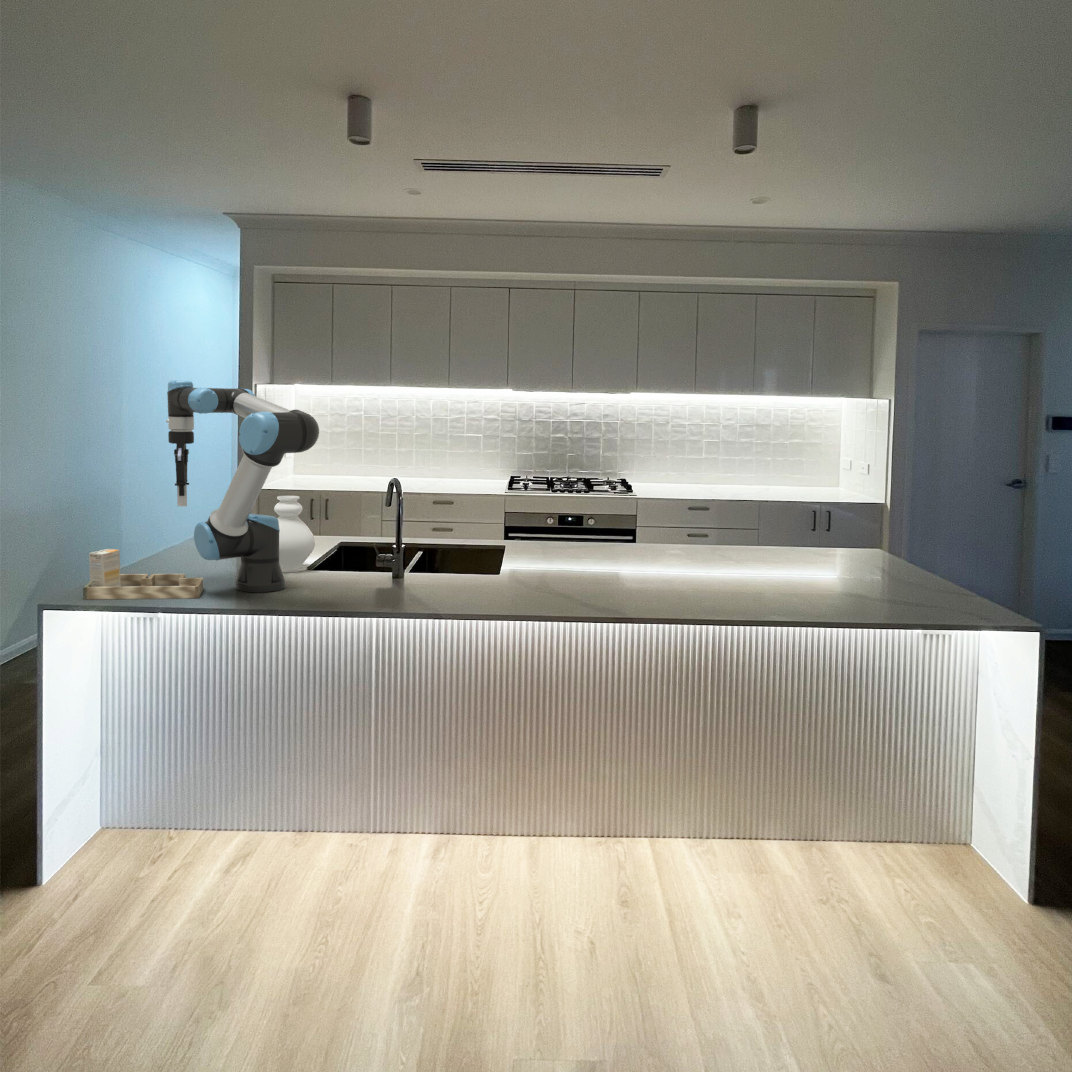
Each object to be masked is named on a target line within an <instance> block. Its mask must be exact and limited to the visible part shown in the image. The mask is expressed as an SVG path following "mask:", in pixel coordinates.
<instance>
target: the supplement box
mask: <svg viewBox="0 0 1072 1072" xmlns="http://www.w3.org/2000/svg"><path fill="white" fill-rule="evenodd" d="M120 551H121V550H120V549H114V548H105V549H100V550H97V551H91V552H89V553H88V561H89V562H88V563H89V582H90V587H121V582H120V574H121V557H120V555H121V554H120Z"/></svg>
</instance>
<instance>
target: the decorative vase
mask: <svg viewBox="0 0 1072 1072" xmlns="http://www.w3.org/2000/svg"><path fill="white" fill-rule="evenodd" d="M276 499H277V500H279V502H277V503H276V504H275V505H274V508H273V510H274V513H276V514H277V515H278V517H276V518H277V519H278V521H279V530H280V532H279V564H280V567H281V570H282V573H300V571H301V572H305V571H307V570H308V566H306V565H303V564H304V563H305V562H306V561H307V559H308V558H309V557H310V556H311V554H312V553H313V551H314V550H315V548H316V547H315V546H316V541H315V540H316V539H315V536H314V533H313V532H312V530H311V529H310V527H308V525H307V524H306V523H305V522H304V521H303V520H302V519H301V518H300V517H299V515H300V514H301V513H302V512H303V509H304V508H303V505H301V503H299V502H298V501H299V500H300V499H301V498H300V496H298V495H278V496H277V497H276Z"/></svg>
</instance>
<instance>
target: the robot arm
mask: <svg viewBox="0 0 1072 1072" xmlns="http://www.w3.org/2000/svg"><path fill="white" fill-rule="evenodd" d="M166 394H167V395H166V396H167V413H168V415H167V417H168V418H167V419H166V421H165V422H166V423H168V426H167V427H168V430H170V431H168V432H167V433H168V443H169V444H176V448H175V449H173V455H174V461H175V473H176V475H175V477H176V482H175V483H174V486H176V487H177V488H176V490H177V492H176V493H177V494H176V495H177V496H176V497H177V503H176V504H177V507H188V490H187V489H188V488H187V487H188V486H189V485H190V482H188V462H189V453H190V452H189V449H188V448H187V445H190V444H194V443H195V433H194V431H193V430H194V429H195V418H194V413H198V414H200V415H201V414H215V413H217V414H219V413H221V414H222V413H223V414H227V413H229V414H231V413H232V414H234V415H237V416H239V417H242V418H244V419H243V420H242V421H241V424H240V427H239V431H238V433H239V434H240V435H239V436H238V441H239V445H240V447H241V452H242V453H243V456H242V458H241V460H240V462H239V464H238V467H237V468H236V471H235V473H234V476H233V477H232V480H231V482H230V484H229V486H228V489H227V490H226V492H225V494H224V497H223V499H222V500H221V503H220V506H219V507H218V508H217V509H214V510H213V511H212V512H210V514H209V516H208V518H207V520H206V521H200V522H198V523H196V525H195V527H194V531H193V539H194V546H195V548H196V550H197V552H198V554H199V556H200V557H201V558H203V559H204V560H206V561H220V560H227V559H237V558H240V565H239V569H238V570H237V574H236V578H235V580H234V589H236V590H237V591H241V592H248V593H269V592H276V591H280V590H283V588H284V589H285V588H286V580H285V576H284V572H282V570H281V567H280V564H279V532H280V530H279V521H278V519H277V518H278V517H277V516H273V515H267V514H259V513H251V512H252V509H253V507H254V505H255V504H256V502H257V499H258V497H259V495H260V493H261V491H262V490H263V487H264V484H265V483H266V481H267V478H268V477H269V474H270V472H271V470H272V468H274V467H277V466H279V465H280V464H281V462H282V460H283V458H284V456H285V455H286V454H296V453H297V454H299V453H303V452H307V451H308V450H310V449H311V448H313V447H314V445H316V443H317V441H318V439H319V435H320V428H319V423H318V422H317V420H316V419H315V417H314V416H313V415H311V414H309V413H307V412H305V411H302V410H300V409H291V410H290V409H288V408H286V407H283V406H281V405H278V404H276V403H273V402H271V401H268V400H266V399H263V398H260V397H259V396H256V395H255V393H253V391H252V390H251V389H249V388H242V387H239V388H238V387H237V388H220V387H219V388H218V387H214V388H213V387H194V384H193V381H192V380H170V381H168V383H167V392H166Z"/></svg>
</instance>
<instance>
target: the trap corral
mask: <svg viewBox="0 0 1072 1072" xmlns="http://www.w3.org/2000/svg"><path fill="white" fill-rule="evenodd" d="M120 582H121V587H90V581H88V582H87V583H86V584H85V585H84V586H83V587H82V588H83V589H82V593H83V594H82V595H83V600H147V599H148V600H150V599H151V600H152V599H154V600H155V599H157V600H158V599H159V600H160V599H161V600H163V599H166V600H167V599H199V598H200V596H201V594H202V593H203V590H204V577H186V573H151V574H150V576H149V574H148V573H130V574H128V573H120Z"/></svg>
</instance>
